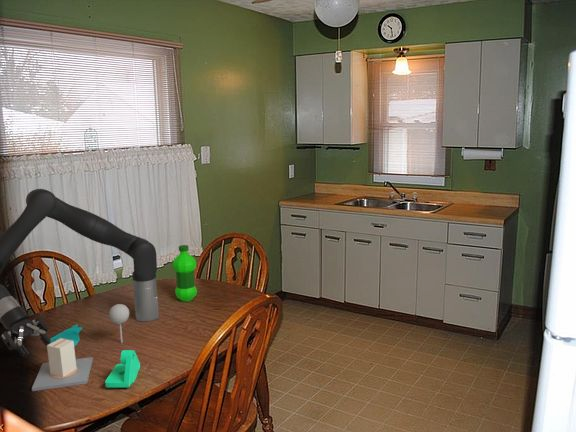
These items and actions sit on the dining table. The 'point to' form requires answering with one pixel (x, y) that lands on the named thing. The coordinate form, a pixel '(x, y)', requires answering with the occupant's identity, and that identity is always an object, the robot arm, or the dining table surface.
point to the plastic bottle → (185, 274)
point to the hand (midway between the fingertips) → (38, 350)
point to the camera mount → (124, 370)
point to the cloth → (69, 334)
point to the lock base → (71, 379)
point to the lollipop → (119, 315)
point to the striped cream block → (61, 357)
